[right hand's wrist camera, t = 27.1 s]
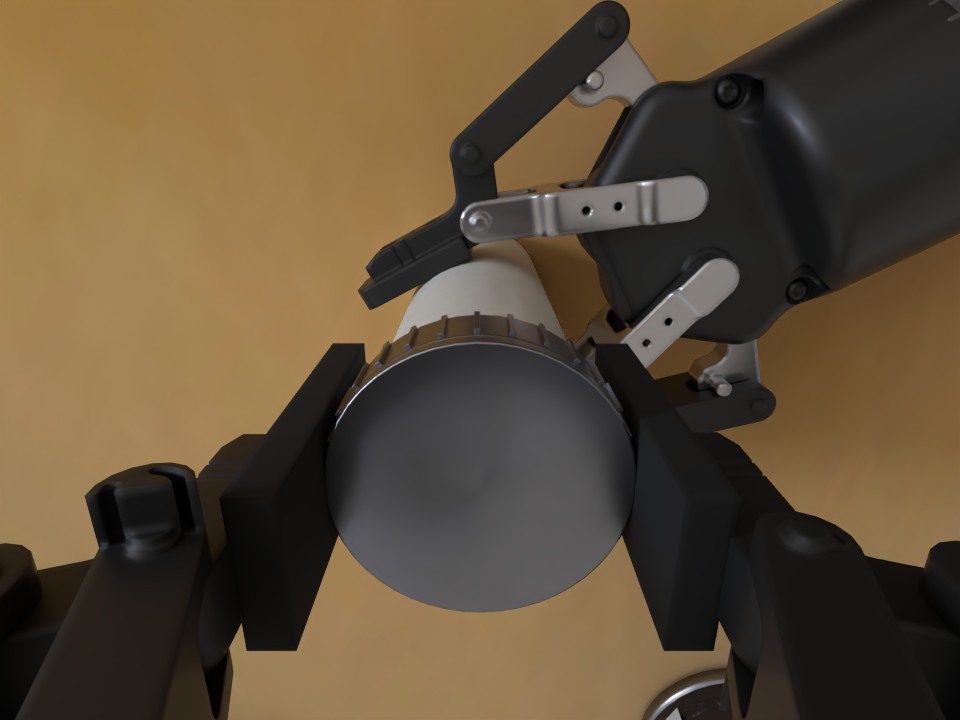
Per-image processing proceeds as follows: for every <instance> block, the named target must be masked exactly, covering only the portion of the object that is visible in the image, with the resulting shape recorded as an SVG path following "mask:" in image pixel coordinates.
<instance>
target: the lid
mask: <svg viewBox="0 0 960 720" xmlns="http://www.w3.org/2000/svg"><path fill="white" fill-rule="evenodd" d="M622 411H623V409H622V407H621V405H620V404H619V402H618V400H617V398H616V396H615V394H614V392H613V391H612V389H611V387H610V385H609V383H606V384H605V382H604V380H603V378H602V376H601V374H600V372H599V370H598V369H597V367H596V365H595V363H594V361H593V360H592V359H590V360H588V361H587V360H586V359H585V358H584V356H583V355H582V354H581V353H580V352H578V351H577V350H576V349H575V347H574V345H573V343H572V341H571V340H570V339H568V338H567V339H566V341H565V340H563V339H561V338H560V337H558V336H557V335H555V334H553V333H552V332H550V331H548V330H546V328H545V325H544V324H541V323H539V325H538V326H537V325H534V324H531V323H528V322H525V321H521V320H518V319H514V317H513V315H512V314H507V317H503V316H497V315H480V311H475V312H474V315H466V316H456V317H452V318H448V317H447V315H443V316H442V317H441V320H438V321H435V322H432V323H429V324H427V325H424V326H421V327H419V328H417V326H416V325H414V326H412V327H411V328H410V331H409V333H407V334H405V335H403V336H402V337H400V338H399V339H397V340H396V341H395V342H393V343H392V344H390V343H389V342H386V343H385V344H384V346H383V348H382V350H381V352H380V354H379V355H378V356H377V357H375V359H374V360H373V361H372V362H371V363H370V365H369V364H368V363H365V364H364V365H363V367H362V369H361V371H360V373H359V374H358V376H357V378H356V380H355V382H354V384H353V386H352V388H351V387H350V388H349V389H348V391H347V393H346V395H345V397H344V399H343V401H342V403H341V404H340V406H339V408H338V410H337V412H336V414H335V416H337V417H339V418H338V420H337V422H336V424H335V427H334V428H333V430H332V432H331V434H330V436H329V438H328V446H327V450H326V454H325V462H324V481H325V491H326V500H327V507H328V510H329V513H330V516H331V519H332V521H333V524H334V527H335V528H336V530H337V532H338V534H339V536H340V538H341V540H342V542H343V543H344V544H345V546H346V547H347V548H348V550H349V551H350V553H351V554H352V555H353V557H354V558H355V559H356V560H357V561H358V562H359V563H360V564H361V565H362V566H363V567H364V568H365V569H366V570H367V571H368V572H370V573H371V574H372V575H373V576H374V577H376V578H377V579H378V580H379V581H381V582H382V583H384V584H385V585H387V586H389V587H390V588H392V589H393V590H395V591H397V592H399V593H401V594H403V595H405V596H407V597H409V598H411V599H414V600H417V601H420V602H422V603H425V604H428V605H432V606H436V607H440V608H444V609H449V610H456V611H463V612H495V611H505V610H511V609H516V608H521V607H525V606H528V605H532V604H535V603H539V602H541V601H544V600H546V599H549V598H551V597H554V596H556V595H558V594H559V593H561V592H563V591H565V590H567V589H569V588H571V587H572V586H573V585H575V584H576V583H578V582H579V581H581V580H582V579H584V578H585V577H586V576H587V575H588V574H590V573H591V572H592V571H593V570H594V569H595V568H596V567H597V566H599V565H600V563H601V562H602V561H603V560H604V559H605V558H606V557H607V555H608V554H609V553H610V552H611V551H612V549H613V548H614V546H615V545H616V543H617V542H618V540H619V539H620V537H621V535H622V533H623V531H624V529H625V527H626V525H627V523H628V520H629V517H630V514H631V511H632V508H633V503H634V494H635V485H636V473H637V467H636V460H635V453H634V448H633V445H632V442H631V440H633V437H632V434H631V432H630V430H629V428H628V426H627V424H626V422H625V420H624V419H623V417H622V415H621V413H620V412H622Z"/></svg>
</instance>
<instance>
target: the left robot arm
mask: <svg viewBox="0 0 960 720" xmlns="http://www.w3.org/2000/svg"><path fill="white" fill-rule="evenodd" d="M629 30H630V19H629V15H628V13H627V11H626V9H625V8H624V7H623V6H622V5H621V4H619V3H618V2H615V1H610V0H607V1H602V2H600V3H598V4H596V5H595V6H594V7H593V8H592V9H591V10H589V11H588V12H587V13H586V14H585V15H584V16H583V17H582V18H581V19H580V20H579V21H578V22H577V23H576V24H575V25H574V26H573V27H572V28H571V29H570V30H568V31H567V32H566V33H565V34H564V35H563V36H562V37H561V38H560V39H559V40H558V41H557V42H556V43H555V44H554V45H553V46H552V47H551V48H550V49H549V50H547V51H546V52H545V53H544V54H543V55H542V56H541V57H540V58H539V59H538V60H537V61H536V62H535V63H534V64H533V65H532V66H531V67H530V68H529V69H528V70H526V71H525V72H524V73H523V74H522V75H521V76H520V77H519V78H518V79H517V80H516V81H515V82H514V83H513V84H512V85H511V86H510V87H509V88H508V89H507V90H505V91H504V92H503V93H502V94H501V95H500V96H499V97H498V98H497V99H496V100H495V101H494V102H493V103H492V104H491V105H490V106H489V107H488V108H487V109H486V110H484V111H483V112H482V113H481V114H480V115H479V116H478V117H477V118H476V119H475V120H474V121H473V122H472V123H471V124H470V125H469V126H468V127H467V128H466V129H465V130H463V131H462V132H461V133H460V134H459V135H458V136H457V137H456V138H455V139H454V141H453V143H452V145H451V148H450V160H451V163H452V168H453V175H454V182H455V189H456V199H455V203H454V205H453V206H452V207H451V209H449V210H448V211H447V212H445V213H444V214H442V215H440V216H438V217H437V218H435V219H433V220H431V221H429V222H427V223H426V224H424V225H422V226H420V227H418V228H416V229H415V230H413V231H411V232H409V233H407V234H406V235H404V236H402V237H400V238H399V239H396V240H395V241H393V242H391V243H389V244H387V245H386V246H384V247H382V248H381V250H380V251H379V252H378V253H377V254H376V255H375V256H374V257H373V259H372V260H371V261H370V263H369V264H368V265H367V266H366V270H367V271H368V273H369V275H370V276H371V277H370V278H369V279H368V280H366V281H365V282H364V284H363V285H362V286H361V287H360V288H359V290H358V292H359V294H360V295H361V297H362V299H363V300H364V302H365V303H366V305H367V307H368V308H369V310H371V309H374V308H377V307H379V306H381V305H382V304H384V303H386V302H388V301H390V300H392V299H394V298H396V297H398V296H399V295H401V294H403V293H405V292H407V291H409V290H411V289H413V288H414V287H416V286H418V285H420V284H422V283H424V282H426V281H428V280H430V279H431V278H433V277H435V276H437V275H438V274H440V273H442V272H444V271H446V270H448V269H450V268H452V267H454V266H456V265H458V264H460V263H462V262H463V261H465V260H467V259H469V258H471V257H472V250H473V247H475V246H477V245H478V244H480V243H489V242H497V241H504V240H512V239H519V238H527V237H534V236H545V237H554V236H563V235H571V234H576V235H577V237H578V239H579V241H580V243H581V245H582V247H583V248H584V249H585V250H586V251H587V252H588V254H589V255H590V256H591V257H592V258H593V259H594V261H595V262H596V263H597V267H598V273H599V279H600V285H601V288H602V290H603V293H604V295H605V297H606V299H607V301H608V304H607V305H606V306H605V307H604V308H603V309H602V310H601V311H600V312H599V313H598V314H597V315H596V316H595V317H594V318H593V319H592V320H591V322H590V323H589V324H588V326H587V329H586V331H585V333H584V334H583V336H582V337H581V338H580V339H579V340H578V341H577V342H576V343H575V344H574V347H575V349H576V350H577V351H578V352H580V353H581V354H582V355H583V356H584V358H585V359H586V360H587V361H588V360H590V359H592V360H593V361H594V363H595V352H596V343H627V344H628V345H629V346H630V348H631V349H632V350H633V352H634V353H635V355H636V356H637V357H638V359H639V360H640V361H641V363H642V364H643V365H644V367H645V368H647V367H648V366H649V365H650V364H651V363H652V362H653V361H654V360H655V359H657V358H658V357H659V356H660V355H661V354H662V353H663V352H664V351H665V350H666V349H667V348H668V347H669V346H670V345H671V344H672V343H673V342H674V341H676V340H677V339H678V338H679V337H680V338H687V339H695V340H702V341H709V342H717V345H716V347H715V348H714V350H713V351H712V352H711V353H709V354H708V355H706V356H703V357H701V358H698V359H696V360H695V361H694V362H693V364H692V365H691V367H690V370H689V372H686V373H681V374H677V375H673V376H669V377H664V378H660V379H656V380H655V382H656V383H657V384H658V386H659V387H660V388H661V390H662V391H663V392H664V394H665V395H666V397H667V398H668V399H669V401H670V402H671V403H672V405H673V406H674V407H675V409H676V410H677V411H678V413H679V414H680V416H681V417H682V418H683V420H684V421H685V422H686V424H687V425H688V426H689V428H690V429H691V430H692V432H715V431H719V430H724V429H728V428H733V427H737V426H742V425H746V424H750V423H755V422H759V421H762V420H765V419H766V418H768V417H769V416H770V415H771V414H772V413H773V411H774V409H775V407H776V399H775V396H774V395H773V393H772V392H770V391H769V390H768V389H767V388H766V387H765V386H764V385H763V384H762V382H761V378H760V369H759V359H758V349H757V339H758V338H759V337H761V336H762V335H763V334H764V333H766V332H767V331H768V329H769V328H770V327H771V326H772V325H773V323H774V322H775V321H776V320H777V319H778V318H779V317H780V316H781V315H782V314H783V313H785V312H786V311H787V310H788V309H790V308H791V307H793V306H795V305H797V304H799V303H802V302H805V301H808V300H811V299H814V298H818V297H821V296H824V295H827V294H830V293H832V292H835V291H837V290H840V289H842V288H844V287H846V286H848V285H850V284H853V283H855V282H857V281H859V280H861V279H863V278H865V277H868V276H870V275H872V274H874V273H876V272H878V271H880V270H883V269H885V268H887V267H889V266H891V265H893V264H895V263H898V262H900V261H902V260H904V259H906V258H908V257H910V256H913V255H915V254H917V253H919V252H921V251H923V250H925V249H928V248H930V247H932V246H934V245H936V244H938V243H940V242H942V241H944V240H947V239H949V238H951V237H953V236H955V235H957V234H959V233H960V0H843V1H841V2H839V3H837V4H835V5H834V6H832V7H830V8H828V9H826V10H824V11H823V12H821V13H819V14H817V15H815V16H814V17H812V18H810V19H808V20H806V21H805V22H803V23H801V24H799V25H797V26H795V27H794V28H792V29H790V30H788V31H786V32H784V33H783V34H781V35H779V36H777V37H775V38H773V39H772V40H770V41H768V42H766V43H764V44H763V45H761V46H759V47H757V48H755V49H753V50H752V51H750V52H748V53H746V54H744V55H742V56H741V57H739V58H737V59H735V60H733V61H732V62H730V63H728V64H726V65H724V66H722V67H721V68H719V69H717V70H715V71H713V72H711V73H710V74H708V75H706V76H704V77H702V78H699V79H697V80H693V81H666V82H661V83H659V82H658V81H657V79H656V78H655V77H654V75H653V74H652V72H651V71H650V69H649V68H648V67H647V65H646V64H645V62H644V61H643V59H642V58H641V57H640V55H639V54H638V52H637V51H636V49H635V48H634V47H633V45H632V44H631V42H630V41H629V39H628V38H627V37H628V34H629ZM565 97H566V98H567V99H568V100H569V101H570V102H571V103H572V104H573V105H574V106H576V107H579V108H588V107H591V106H594V105H597V104H599V103H600V102H602V101H603V100H605V99H614V100H617V101H619V102H620V103H622V104H623V105H624V107H625V108H624V110H623V112H622V114H621V116H620V118H619V119H618V121H617V123H616V125H615V127H614V129H613V131H612V133H611V135H610V136H609V138H608V140H607V142H606V144H605V146H604V148H603V150H602V152H601V153H600V155H599V157H598V159H597V161H596V163H595V165H594V167H593V169H592V170H591V172H590V174H589V176H588V178H587V179H581V180H574V181H567V182H559V183H552V184H545V185H538V186H533V187H530V188H524V189H517V190H510V191H502V192H497V187H496V179H495V171H494V163H495V162H496V161H497V160H498V159H499V158H500V157H501V156H502V155H503V154H504V153H505V152H506V151H508V150H509V149H510V148H511V147H512V146H513V145H514V144H515V143H516V142H517V141H518V140H519V139H521V138H522V137H523V136H524V135H525V134H526V133H527V132H528V131H529V130H530V129H531V128H533V127H534V126H535V125H536V124H537V123H538V122H539V121H540V120H541V119H542V118H543V117H544V116H546V115H547V114H548V113H549V112H550V111H551V110H552V109H553V108H554V107H555V106H556V105H558V104H559V103H560V102H561V101H562V100H563V99H564V98H565ZM645 339H646V340H645ZM644 340H645V341H644ZM726 670H727V669H717V670H711V671H706V672H702V673H698V674H695V675H692V676H689V677H687V678H685V679H682V680H680V681H678V682H676V683H675V684H673V685H671V686H670V687H668V688H667V689H666V690H664V691H663V692H662V693H661V694H660V695H658V696H657V697H656V699H655V700H654V701H653V702H652V703H651V704H650V706H649V707H648V709H647V710H646V712H645V714H644V716H643V719H642V720H733V718H732V710H731V702H730V701H729V706H728V711H727V712H725V711H721V710H719V708H720V701H721V695H722V690H723V685H724V680H725V675H726Z"/></svg>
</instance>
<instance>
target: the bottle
mask: <svg viewBox="0 0 960 720" xmlns="http://www.w3.org/2000/svg"><path fill="white" fill-rule="evenodd" d="M475 311H480V315H497V316H503V317H507V314H512V315H513V317H514V319H518V320H521V321H525V322H528V323H531V324H534V325H537V326H538V325H539V323H541V324H544V325H545V328H546V330H548V331H550V332H552V333H553V334H555V335H557V336H558V337H560V338H561V339H563V340H565V341H566V338H565V336H564V333H563V331H562V329H561V327H560V324H559V322H558V320H557V317H556V315H555V313H554V311H553V308H552V306H551V304H550V302H549V299H548V297H547V295H546V292H545V290H544V288H543V286H542V283H541V281H540V279H539V277H538V274H537V272H536V270H535V267H534V265H533V263H532V261H531V258H530V257H529V255H528V254H527V252H526V251H525V250H524V248H523V247H522V246H521V245H520V244H519V243H518V242H517V241H515V240H514V239H512V240H504V241H497V242H489V243H480V244H478V245H477V246H475V247H473V250H472V257H471V258H469V259H467V260H465V261H463V262H462V263H460V264H458V265H456V266H454V267H452V268H450V269H448V270H446V271H444V272H442V273H440V274H438V275H437V276H435V277H433V278H431V279H430V280H428V281H426V282H424V283H422V284H420V285H418V286H417V288H416V291H415V293H414V295H413V297H412V300H411V302H410V304H409V307H408V309H407V311H406V313H405V316H404V318H403V320H402V322H401V325H400V327H399V329H398V331H397V334H396V336H395V338H394V341H393V342H395V341H396V340H397V339H399V338H400V337H402V336H403V335H405V334H407V333H409V331H410V328H411V327H412V326H414V325H416V326H417V328H419V327H421V326H424V325H427V324H429V323H432V322H435V321H438V320H441V317H442V316H443V315H447V317H448V318H452V317H456V316H466V315H474V312H475Z"/></svg>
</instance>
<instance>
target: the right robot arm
mask: <svg viewBox="0 0 960 720" xmlns="http://www.w3.org/2000/svg"><path fill="white" fill-rule="evenodd" d="M365 363H366V360H365V347H364V343H333V344H332V346H331V347H330V348H329V350H328V351H327V352H326V354H325V355H324V356H323V358H322V359H321V360H320V362H319V363H318V365H317V366H316V367H315V369H314V370H313V371H312V373H311V374H310V375H309V377H308V378H307V379H306V381H305V382H304V383H303V385H302V386H301V388H300V389H299V390H298V392H297V393H296V394H295V396H294V397H293V398H292V400H291V401H290V402H289V404H288V405H287V407H286V408H285V409H284V411H283V412H282V413H281V415H280V416H279V417H278V419H277V420H276V421H275V423H274V424H273V426H272V427H271V428H270V430H269V431H268V432H267V434H243V435H241V436H240V437H238V438H236V439H235V440H233V441H231V442H230V443H228V444H226V445H225V446H223V447H222V448H221V449H220V450H219V451H218V452H217V453H216V455H215V456H214V457H213V458H212V459H211V460H210V462H209V465H206V466H205V467H204V469H203V470H202V471H201V472H200V473H199V475H198V478H196V476H195V471H193V470H192V469H190V468H189V467H188V466H186V465H181V464H176V463H152V464H148V465H143V466H138V467H133V468H130V469H127V470H125V471H122V472H119V473H117V474H114V475H112V476H110V477H108V478H106V479H105V480H103V481H101V482H100V483H98V484H96V485H95V486H94V487H93V488H92V489H91V490H90V491H89V492H88V493H87V494H86V495H85V499H86V502H87V506H88V510H89V513H90V517H91V520H92V524H93V528H94V531H95V535H96V538H97V542H98V546H99V550H98V552H97V554H96V556H95V558H94V559H91V560H87V561H82V562H77V563H72V564H67V565H62V566H57V567H52V568H47V569H42V570H37V568H36V565H35V562H34V559H33V556H32V553H31V551H30V550H28V549H27V548H25V547H24V546H22V545H16V544H7V543H4V544H0V720H228V712H229V703H230V695H231V687H232V679H233V666H232V660H231V654H230V649H229V647H230V645H231V643H232V641H233V639H234V637H235V635H236V633H237V631H238V629H239V627H240V625H241V623H242V627H243V633H244V638H245V644H246V649H247V651H297V648H298V645H299V642H300V640H301V637H302V634H303V631H304V629H305V626H306V623H307V620H308V617H309V615H310V612H311V609H312V606H313V604H314V601H315V598H316V595H317V593H318V590H319V587H320V584H321V582H322V579H323V576H324V573H325V571H326V568H327V565H328V562H329V560H330V557H331V554H332V551H333V548H334V546H335V543H336V540H337V537H338V535H339V534H338V532H337V530H336V528H335V527H334V524H333V521H332V519H331V516H330V513H329V510H328V507H327V500H326V491H325V481H324V462H325V454H326V450H327V446H328V438H329V436H330V434H331V432H332V430H333V428H334V427H335V424H336V422H337V420H338V418H339V417H337V416H335V414H336V412H337V410H338V408H339V406H340V404H341V403H342V401H343V399H344V397H345V395H346V393H347V391H348V389H349V388H350V387H351V388H352V386H353V384H354V382H355V380H356V378H357V376H358V374H359V373H360V371H361V369H362V367H363V365H364V364H365ZM595 365H596V367H597V369H598V370H599V372H600V374H601V376H602V378H603V380H604V382H605V384H606V383H609V385H610V387H611V389H612V391H613V392H614V394H615V396H616V398H617V400H618V402H619V404H620V405H621V407H622V409H623V411H622V412H620V413H621V415H622V417H623V419H624V420H625V422H626V424H627V426H628V428H629V430H630V432H631V434H632V437H633V440H631V442H632V445H633V448H634V453H635V460H636V467H637V473H636V485H635V494H634V503H633V508H632V511H631V514H630V517H629V520H628V523H627V525H626V527H625V529H624V531H623V533H622V536H623V539H624V542H625V545H626V548H627V550H628V553H629V556H630V559H631V561H632V564H633V567H634V570H635V572H636V575H637V578H638V581H639V583H640V586H641V589H642V592H643V594H644V597H645V600H646V603H647V605H648V608H649V611H650V614H651V617H652V619H653V622H654V625H655V628H656V630H657V633H658V636H659V639H660V641H661V644H662V647H663V650H664V651H714V646H715V640H716V635H717V629H718V624H719V621H720V623H721V625H722V627H723V629H724V631H725V633H726V635H727V637H728V639H729V641H730V643H731V649H730V654H729V660H728V665H727V670H726V675H725V680H724V685H723V690H722V695H721V701H720V708H719V710H721V711H725V712H727V711H728V706H729V701H730V702H731V710H732V718H733V720H960V541H949V542H940V543H938V544H937V545H935V546H934V547H932V548H931V549H930V551H929V554H928V557H927V561H926V564H925V567H924V568H922V567H917V566H911V565H906V564H901V563H896V562H891V561H886V560H881V559H876V558H872V557H868V556H865V555H864V553H863V551H862V549H861V547H860V546H859V545H858V544H857V542H856V541H855V540H854V539H853V537H852V536H851V535H849V534H848V533H847V532H845V531H844V530H842V529H841V528H839V527H838V526H836V525H835V524H832V523H830V522H828V521H826V520H823V519H821V518H819V517H816V516H812V515H808V514H804V513H800V512H796V511H795V510H794V509H793V508H792V506H791V505H790V504H789V503H788V502H787V501H786V499H785V498H784V497H783V496H782V495H781V494H780V492H779V491H778V490H777V489H776V488H775V487H774V486H773V484H772V483H771V482H770V481H769V480H768V479H767V477H766V476H763V475H762V472H761V470H760V469H759V468H758V467H757V466H756V465H755V463H752V460H751V459H750V458H749V456H748V455H747V454H746V453H745V452H744V451H743V449H742V448H741V447H740V446H739V445H738V444H736V443H734V442H733V441H731V440H729V439H728V438H726V437H724V436H723V435H721V434H719V433H718V432H692V430H691V429H690V428H689V426H688V425H687V424H686V422H685V421H684V420H683V418H682V417H681V416H680V414H679V413H678V411H677V410H676V409H675V407H674V406H673V405H672V403H671V402H670V401H669V399H668V398H667V397H666V395H665V394H664V392H663V391H662V390H661V388H660V387H659V386H658V384H657V383H656V382H655V380H654V379H653V378H652V376H651V375H650V374H649V372H648V371H647V369H646V368H645V367H644V365H643V364H642V363H641V361H640V360H639V359H638V357H637V356H636V355H635V353H634V352H633V350H632V349H631V348H630V346H629V345H628V344H627V343H596V352H595Z"/></svg>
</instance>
